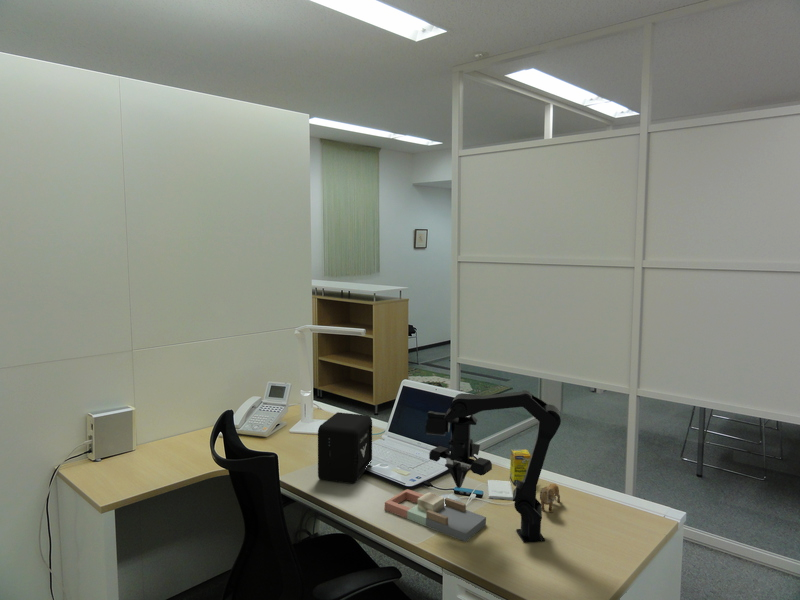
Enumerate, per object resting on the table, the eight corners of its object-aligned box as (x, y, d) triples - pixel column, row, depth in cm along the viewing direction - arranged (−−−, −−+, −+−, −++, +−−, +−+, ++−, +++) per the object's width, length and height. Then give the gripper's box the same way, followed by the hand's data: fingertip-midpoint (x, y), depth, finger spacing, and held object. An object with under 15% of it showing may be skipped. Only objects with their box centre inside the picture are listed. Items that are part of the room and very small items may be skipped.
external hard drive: (510, 485, 189) (513, 501, 177) (487, 483, 190) (488, 499, 178) (510, 481, 189) (513, 497, 177) (487, 479, 190) (488, 495, 178)
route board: (485, 524, 161) (486, 510, 160) (465, 541, 151) (466, 526, 151) (407, 496, 179) (407, 483, 179) (384, 509, 170) (384, 496, 169)
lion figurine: (554, 519, 165) (555, 491, 164) (537, 515, 167) (538, 488, 166) (561, 499, 178) (562, 473, 177) (545, 496, 180) (546, 470, 180)
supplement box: (513, 484, 189) (514, 455, 188) (509, 477, 195) (510, 448, 194) (530, 484, 189) (531, 455, 188) (525, 477, 195) (526, 449, 194)
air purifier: (355, 486, 186) (355, 431, 184) (317, 481, 190) (317, 427, 188) (374, 464, 205) (374, 414, 203) (339, 459, 209) (339, 410, 207)
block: (444, 506, 167) (444, 497, 166) (433, 514, 162) (433, 504, 162) (428, 500, 170) (428, 492, 170) (417, 507, 166) (417, 498, 166)
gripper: (501, 436, 158) (499, 487, 159) (448, 423, 169) (447, 470, 171) (483, 447, 149) (481, 500, 151) (428, 432, 160) (427, 482, 162)
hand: (459, 487), depth 159 cm, fingers closed
